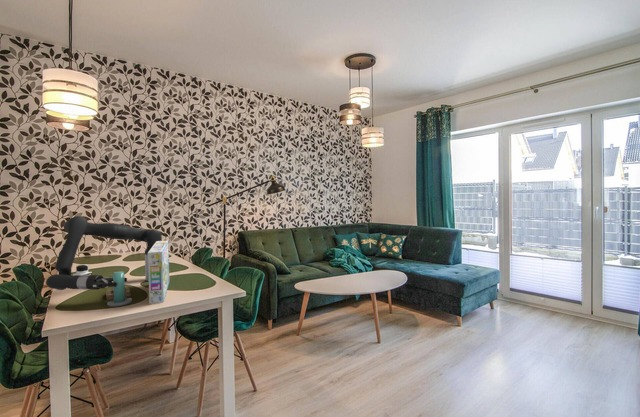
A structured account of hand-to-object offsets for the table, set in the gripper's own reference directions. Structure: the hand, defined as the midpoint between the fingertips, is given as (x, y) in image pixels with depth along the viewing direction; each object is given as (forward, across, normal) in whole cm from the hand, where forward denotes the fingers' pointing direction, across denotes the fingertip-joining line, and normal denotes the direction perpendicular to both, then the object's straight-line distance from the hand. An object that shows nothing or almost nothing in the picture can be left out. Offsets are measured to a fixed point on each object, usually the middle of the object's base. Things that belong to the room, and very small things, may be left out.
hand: (121, 282), depth 165 cm
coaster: (-1, 0, +11) cm, 11 cm away
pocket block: (-10, +12, +11) cm, 19 cm away
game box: (+11, +18, +11) cm, 24 cm away
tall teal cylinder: (-1, 0, +10) cm, 10 cm away
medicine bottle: (-47, +35, +11) cm, 60 cm away
